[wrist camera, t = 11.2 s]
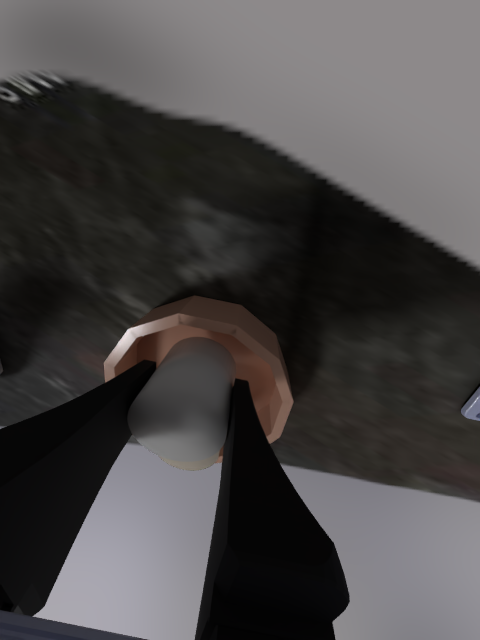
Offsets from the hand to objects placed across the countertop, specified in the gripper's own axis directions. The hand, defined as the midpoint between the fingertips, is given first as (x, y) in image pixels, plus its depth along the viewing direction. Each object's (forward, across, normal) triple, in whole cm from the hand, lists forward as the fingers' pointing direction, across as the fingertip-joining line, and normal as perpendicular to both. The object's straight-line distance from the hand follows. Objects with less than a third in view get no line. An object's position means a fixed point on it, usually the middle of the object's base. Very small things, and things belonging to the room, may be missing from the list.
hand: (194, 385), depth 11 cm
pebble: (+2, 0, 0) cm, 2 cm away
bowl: (+4, 0, +2) cm, 5 cm away
